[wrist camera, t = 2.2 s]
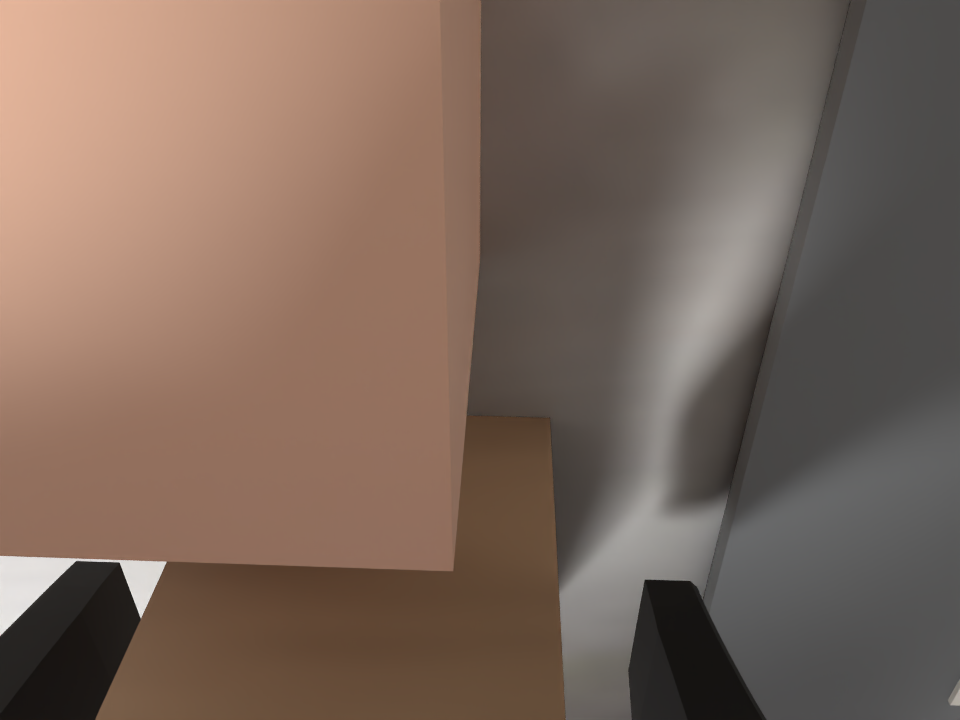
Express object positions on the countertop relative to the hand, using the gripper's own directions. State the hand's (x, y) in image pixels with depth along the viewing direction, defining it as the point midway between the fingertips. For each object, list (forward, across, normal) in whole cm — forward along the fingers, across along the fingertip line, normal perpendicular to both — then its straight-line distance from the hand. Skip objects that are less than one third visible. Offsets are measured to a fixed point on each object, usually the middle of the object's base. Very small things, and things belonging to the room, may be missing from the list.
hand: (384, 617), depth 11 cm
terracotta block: (+2, +1, -7) cm, 7 cm away
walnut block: (+2, 0, 0) cm, 2 cm away
